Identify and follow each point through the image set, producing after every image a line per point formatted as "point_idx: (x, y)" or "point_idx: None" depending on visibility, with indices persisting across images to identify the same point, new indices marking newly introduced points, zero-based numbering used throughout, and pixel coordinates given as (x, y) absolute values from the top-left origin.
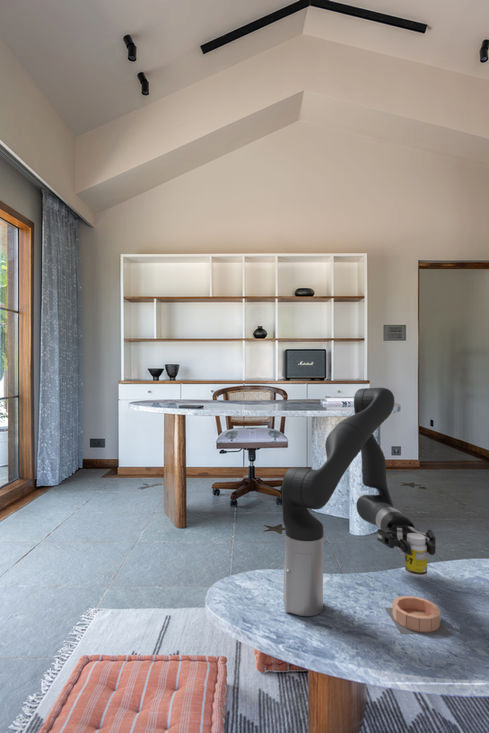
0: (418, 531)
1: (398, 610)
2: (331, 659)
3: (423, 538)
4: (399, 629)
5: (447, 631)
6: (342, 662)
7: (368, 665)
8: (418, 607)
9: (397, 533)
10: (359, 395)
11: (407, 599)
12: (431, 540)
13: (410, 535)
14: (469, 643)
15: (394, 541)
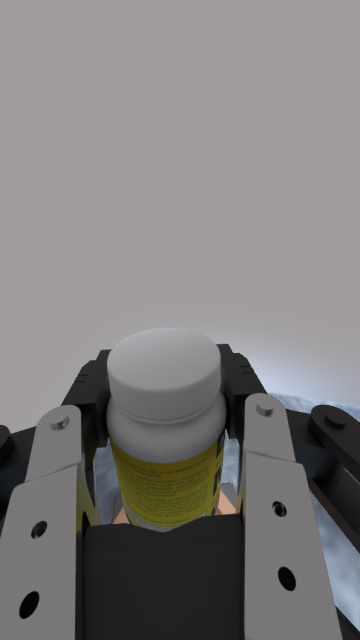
0: (5, 557)
1: None
2: (339, 405)
3: (138, 333)
4: (235, 502)
5: (119, 504)
6: (320, 401)
7: (283, 399)
8: None
9: (297, 465)
10: None
11: None
12: (25, 433)
13: (199, 352)
14: (99, 466)
15: (299, 418)
